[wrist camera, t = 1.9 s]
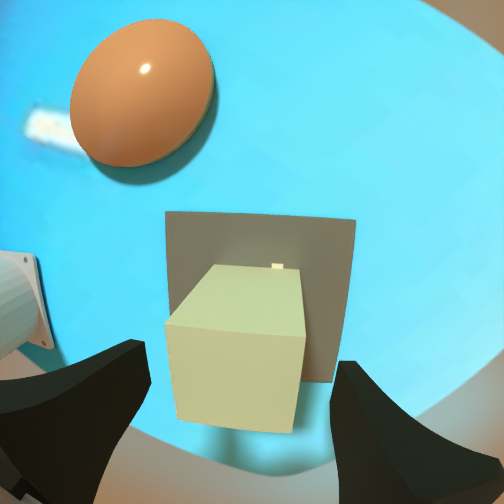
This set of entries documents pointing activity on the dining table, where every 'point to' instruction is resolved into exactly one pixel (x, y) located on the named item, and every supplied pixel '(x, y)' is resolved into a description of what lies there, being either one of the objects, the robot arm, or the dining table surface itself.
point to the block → (239, 349)
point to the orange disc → (142, 93)
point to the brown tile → (271, 266)
